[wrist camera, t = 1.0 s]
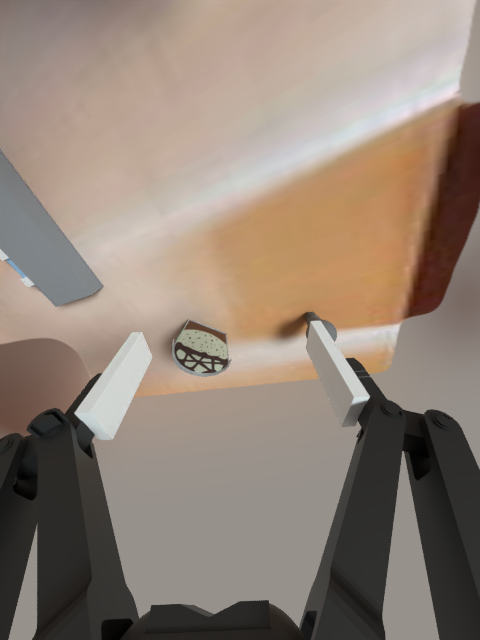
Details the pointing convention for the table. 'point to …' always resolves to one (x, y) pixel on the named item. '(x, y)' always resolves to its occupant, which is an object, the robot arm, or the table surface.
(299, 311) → the table surface
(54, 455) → the robot arm
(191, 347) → the food container
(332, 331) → the light bulb
